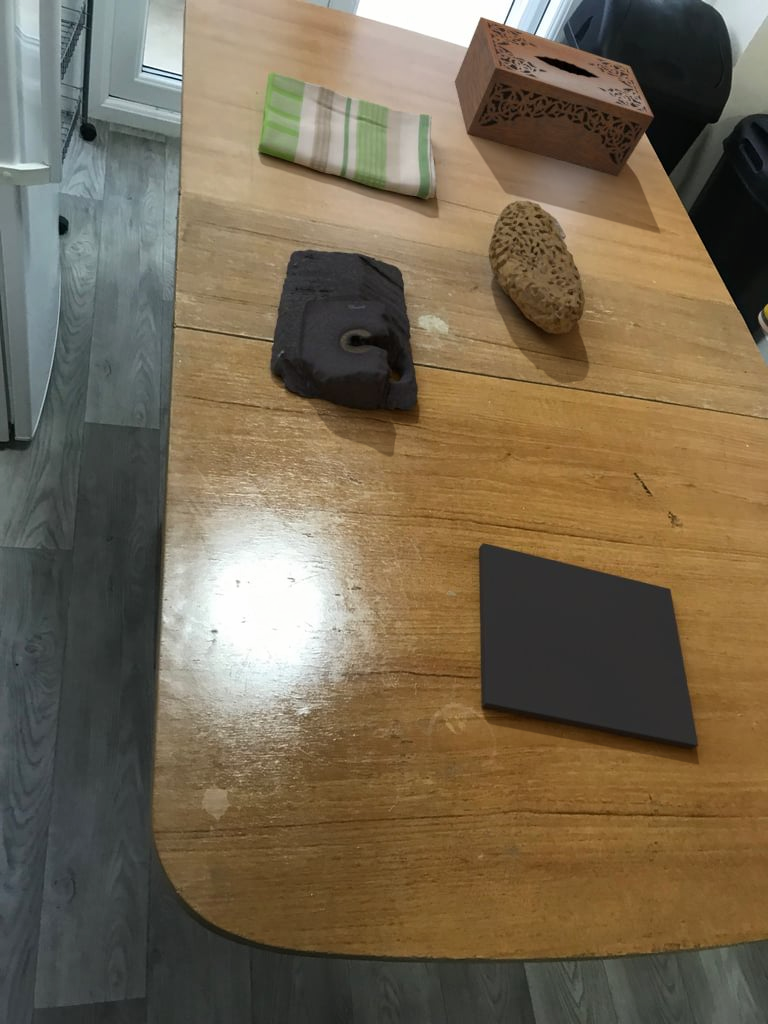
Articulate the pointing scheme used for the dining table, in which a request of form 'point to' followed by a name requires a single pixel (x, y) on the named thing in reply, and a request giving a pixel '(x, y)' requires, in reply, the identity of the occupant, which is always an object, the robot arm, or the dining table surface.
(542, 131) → the tissue box cover
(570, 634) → the mat
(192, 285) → the dining table surface
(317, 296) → the dark slate chunk
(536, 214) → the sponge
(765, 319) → the supplement bottle
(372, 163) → the dish towel
